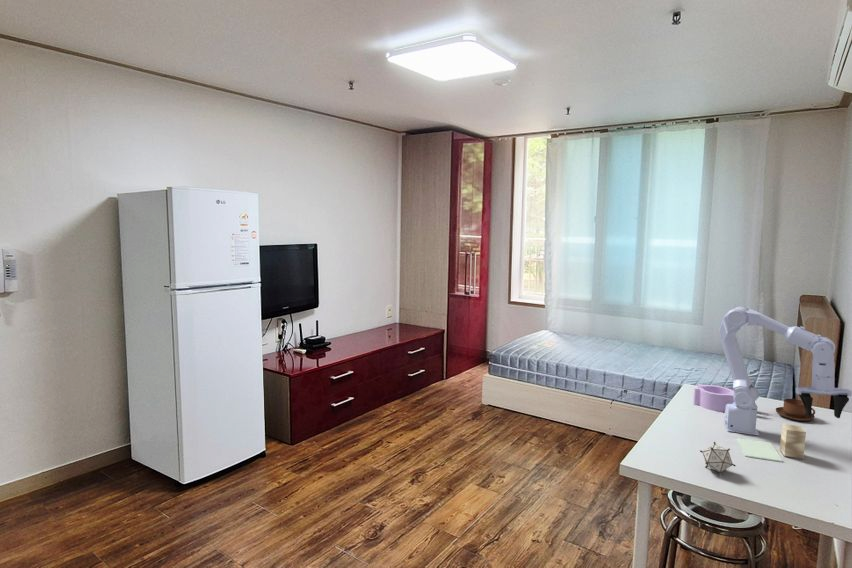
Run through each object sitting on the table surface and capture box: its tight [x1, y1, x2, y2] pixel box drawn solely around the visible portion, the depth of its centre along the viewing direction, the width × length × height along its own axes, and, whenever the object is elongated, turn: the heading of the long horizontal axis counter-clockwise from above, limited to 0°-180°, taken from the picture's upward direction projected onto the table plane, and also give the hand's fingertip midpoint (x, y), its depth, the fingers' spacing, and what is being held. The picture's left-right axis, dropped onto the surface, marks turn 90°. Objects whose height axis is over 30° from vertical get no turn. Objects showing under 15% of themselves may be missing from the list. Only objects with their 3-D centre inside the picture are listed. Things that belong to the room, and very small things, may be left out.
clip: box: [692, 383, 734, 413], centre depth 200 cm, size 20×12×7 cm, turn 50°
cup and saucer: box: [775, 398, 816, 422], centre depth 190 cm, size 12×12×6 cm
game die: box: [699, 441, 737, 476], centre depth 148 cm, size 9×8×10 cm
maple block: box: [779, 423, 807, 461], centre depth 158 cm, size 5×5×9 cm
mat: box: [735, 437, 784, 463], centre depth 162 cm, size 10×14×1 cm
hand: (822, 416), depth 162 cm, fingers open, 7 cm apart
